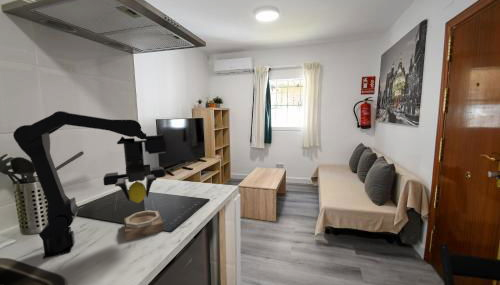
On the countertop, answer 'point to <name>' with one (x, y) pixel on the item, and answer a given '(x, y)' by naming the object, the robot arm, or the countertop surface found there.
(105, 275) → the countertop surface
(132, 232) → the wooden bowl
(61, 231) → the robot arm
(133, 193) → the lemon
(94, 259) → the countertop surface
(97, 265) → the countertop surface
